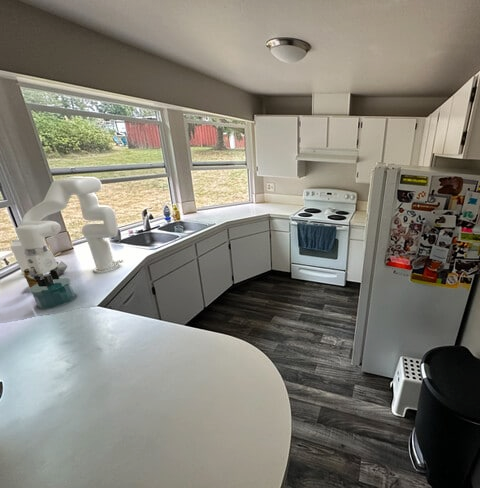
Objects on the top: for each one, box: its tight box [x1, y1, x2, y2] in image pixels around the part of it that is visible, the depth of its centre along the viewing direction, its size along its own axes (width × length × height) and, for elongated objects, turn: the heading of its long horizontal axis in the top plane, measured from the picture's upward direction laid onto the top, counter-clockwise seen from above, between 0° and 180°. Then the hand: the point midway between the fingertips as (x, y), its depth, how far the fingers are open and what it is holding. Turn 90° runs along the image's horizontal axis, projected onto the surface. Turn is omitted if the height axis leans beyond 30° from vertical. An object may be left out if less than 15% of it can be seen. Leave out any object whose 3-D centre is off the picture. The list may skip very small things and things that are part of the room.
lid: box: [28, 273, 71, 294], centre depth 127 cm, size 15×15×7 cm
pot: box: [31, 282, 76, 309], centre depth 129 cm, size 14×19×10 cm
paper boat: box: [57, 260, 68, 277], centre depth 158 cm, size 12×6×9 cm
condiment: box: [22, 268, 40, 294], centre depth 140 cm, size 7×8×12 cm
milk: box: [10, 239, 28, 275], centre depth 157 cm, size 6×6×22 cm
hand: (49, 282), depth 127 cm, fingers open, 6 cm apart
